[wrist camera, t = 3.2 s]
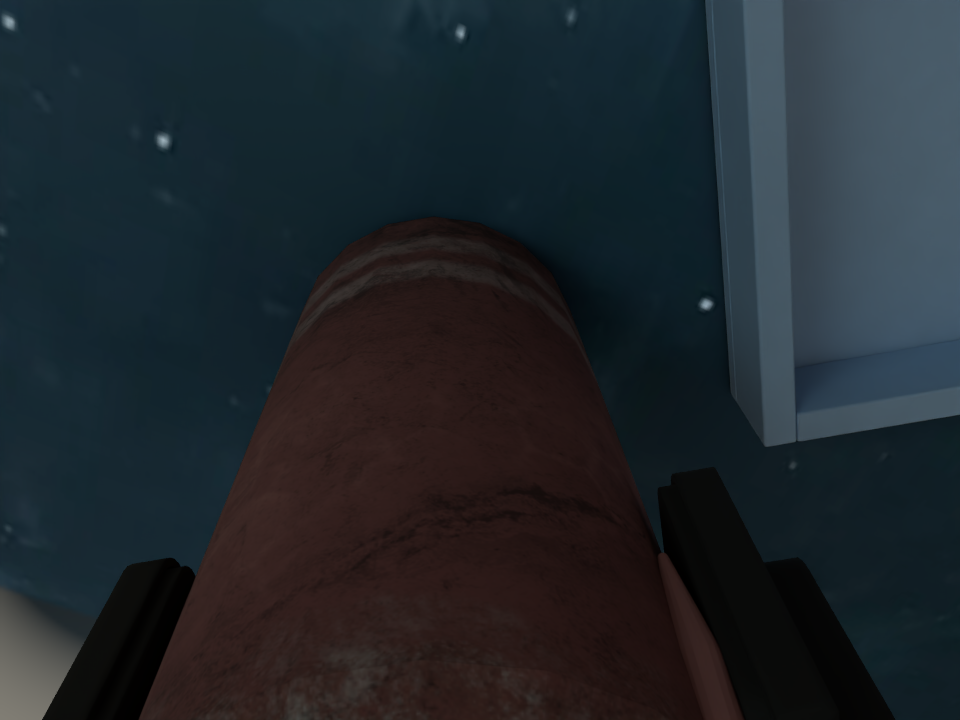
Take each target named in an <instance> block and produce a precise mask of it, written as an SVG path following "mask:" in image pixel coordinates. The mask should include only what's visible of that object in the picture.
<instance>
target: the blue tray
mask: <svg viewBox="0 0 960 720" xmlns="http://www.w3.org/2000/svg"><path fill="white" fill-rule="evenodd" d="M705 5H706V21H707V36H708V51H709V67H710V82H711V97H712V112H713V128H714V143H715V158H716V174H717V189H718V204H719V219H720V235H721V250H722V265H723V281H724V296H725V311H726V326H727V342H728V357H729V372H730V388H731V394H732V396H733V397H734V399H735V401H736V402H737V403H738V405H739V407H740V408H741V410H742V411H743V413H744V414H745V416H746V418H747V419H748V421H749V422H750V424H751V425H752V427H753V429H754V430H755V432H756V433H757V435H758V437H759V438H760V440H761V441H762V443H763V444H764V446H766V447H769V446H775V445H781V444H787V443H793V442H796V439H797V440H798V441H806V440H812V439H818V438H823V437H829V436H835V435H841V434H847V433H853V432H859V431H865V430H871V429H877V428H883V427H889V426H895V425H901V424H907V423H913V422H919V421H925V420H931V419H937V418H943V417H949V416H954V415H960V0H705Z"/></svg>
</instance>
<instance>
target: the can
mask: <svg viewBox="0 0 960 720" xmlns="http://www.w3.org/2000/svg"><path fill="white" fill-rule="evenodd" d="M139 720H745V718H744V715H743V712H742V709H741V706H740V704H739V701H738V698H737V695H736V692H735V689H734V687H733V684H732V681H731V678H730V675H729V672H728V670H727V667H726V664H725V661H724V658H723V655H722V652H721V650H720V647H719V645H718V643H717V641H716V639H715V637H714V635H713V633H712V632H711V630H710V628H709V626H708V625H707V623H706V621H705V619H704V618H703V616H702V614H701V612H700V611H699V609H698V607H697V605H696V604H695V602H694V600H693V599H692V597H691V595H690V593H689V592H688V590H687V588H686V586H685V585H684V583H683V581H682V579H681V578H680V576H679V574H678V572H677V571H676V569H675V567H674V565H673V564H672V562H671V560H670V558H669V557H668V555H667V554H666V553H661V550H660V548H659V545H658V542H657V540H656V537H655V534H654V532H653V529H652V526H651V524H650V521H649V518H648V516H647V513H646V511H645V508H644V505H643V503H642V500H641V497H640V495H639V492H638V489H637V487H636V484H635V481H634V479H633V476H632V473H631V471H630V468H629V465H628V463H627V460H626V457H625V455H624V452H623V449H622V447H621V444H620V441H619V439H618V436H617V433H616V431H615V428H614V426H613V423H612V420H611V418H610V415H609V412H608V410H607V407H606V404H605V402H604V399H603V396H602V394H601V391H600V388H599V386H598V383H597V380H596V378H595V375H594V372H593V370H592V367H591V364H590V362H589V359H588V356H587V354H586V351H585V348H584V346H583V343H582V341H581V338H580V335H579V333H578V330H577V327H576V325H575V322H574V319H573V317H572V314H571V311H570V309H569V307H568V305H567V303H566V301H565V299H564V297H563V295H562V293H561V291H560V289H559V287H558V285H557V283H556V281H555V279H554V277H553V275H552V273H551V272H550V271H549V270H548V269H547V268H546V267H545V266H544V265H543V264H542V263H541V262H540V261H539V260H538V259H537V258H536V257H534V256H533V255H532V254H531V253H530V252H529V251H528V250H527V249H526V248H525V247H524V246H523V245H522V244H521V243H520V242H518V241H516V240H514V239H512V238H510V237H507V236H505V235H503V234H501V233H499V232H497V231H495V230H493V229H491V228H489V227H487V226H485V225H483V224H481V223H476V222H469V221H461V220H454V219H447V218H440V217H428V218H423V219H417V220H411V221H405V222H399V223H393V224H388V225H386V226H384V227H382V228H380V229H378V230H376V231H374V232H372V233H371V234H369V235H367V236H365V237H363V238H361V239H359V240H357V241H355V242H353V243H351V244H349V245H348V246H347V247H346V248H345V249H344V250H343V251H342V252H341V253H340V254H339V255H338V256H337V257H336V258H335V259H334V260H333V261H332V263H331V264H330V265H329V266H328V267H327V268H326V269H325V270H324V271H323V272H322V273H321V274H320V275H319V276H318V278H317V280H316V282H315V284H314V287H313V289H312V291H311V293H310V296H309V298H308V300H307V302H306V304H305V307H304V309H303V311H302V313H301V316H300V318H299V321H298V323H297V326H296V328H295V331H294V333H293V336H292V338H291V341H290V343H289V346H288V348H287V351H286V353H285V356H284V358H283V361H282V363H281V366H280V368H279V371H278V373H277V376H276V378H275V381H274V383H273V386H272V388H271V391H270V393H269V396H268V398H267V401H266V403H265V406H264V408H263V410H262V413H261V415H260V418H259V420H258V423H257V425H256V428H255V430H254V433H253V435H252V438H251V440H250V443H249V445H248V448H247V450H246V453H245V455H244V458H243V460H242V463H241V465H240V468H239V470H238V473H237V475H236V478H235V480H234V483H233V485H232V488H231V490H230V493H229V495H228V498H227V500H226V503H225V505H224V508H223V510H222V513H221V515H220V518H219V520H218V523H217V525H216V528H215V530H214V533H213V535H212V538H211V540H210V543H209V545H208V548H207V550H206V553H205V555H204V558H203V560H202V563H201V565H200V568H199V570H198V573H197V575H196V578H195V580H194V583H193V585H192V588H191V590H190V593H189V595H188V598H187V600H186V603H185V605H184V607H183V610H182V612H181V615H180V617H179V620H178V622H177V625H176V627H175V630H174V632H173V635H172V637H171V640H170V642H169V645H168V647H167V650H166V652H165V655H164V657H163V660H162V662H161V665H160V667H159V670H158V672H157V675H156V677H155V680H154V682H153V685H152V687H151V690H150V692H149V695H148V697H147V700H146V702H145V705H144V707H143V710H142V712H141V715H140V717H139Z"/></svg>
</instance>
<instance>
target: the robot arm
mask: <svg viewBox="0 0 960 720" xmlns="http://www.w3.org/2000/svg"><path fill="white" fill-rule="evenodd" d="M658 501H659V510H660V519H661V528H662V537H663V545H664V553H666V554H667V555H668V557H669V558H670V560H671V562H672V564H673V565H674V567H675V569H676V571H677V572H678V574H679V576H680V578H681V579H682V581H683V583H684V585H685V586H686V588H687V590H688V592H689V593H690V595H691V597H692V599H693V600H694V602H695V604H696V605H697V607H698V609H699V611H700V612H701V614H702V616H703V618H704V619H705V621H706V623H707V625H708V626H709V628H710V630H711V632H712V633H713V635H714V637H715V639H716V641H717V643H718V645H719V647H720V650H721V652H722V655H723V658H724V661H725V664H726V667H727V670H728V672H729V675H730V678H731V681H732V684H733V687H734V689H735V692H736V695H737V698H738V701H739V704H740V706H741V709H742V712H743V715H744V718H745V720H895V718H894V716H893V715H892V713H891V711H890V709H889V708H888V706H887V704H886V703H885V701H884V699H883V697H882V696H881V694H880V692H879V690H878V689H877V687H876V685H875V683H874V682H873V680H872V678H871V676H870V675H869V673H868V671H867V670H866V668H865V666H864V664H863V663H862V661H861V659H860V657H859V656H858V654H857V652H856V650H855V649H854V647H853V645H852V644H851V642H850V640H849V638H848V637H847V635H846V633H845V631H844V630H843V628H842V626H841V624H840V623H839V621H838V619H837V618H836V616H835V614H834V612H833V611H832V609H831V607H830V605H829V604H828V602H827V600H826V598H825V597H824V595H823V593H822V592H821V590H820V588H819V586H818V585H817V583H816V581H815V579H814V578H813V576H812V574H811V572H810V571H809V569H808V568H807V566H806V565H805V563H804V562H803V561H802V560H801V559H799V558H798V557H797V558H791V559H785V560H778V561H772V562H766V563H764V562H763V560H762V558H761V556H760V554H759V552H758V551H757V549H756V547H755V545H754V543H753V541H752V539H751V537H750V535H749V533H748V531H747V529H746V527H745V525H744V523H743V521H742V519H741V517H740V515H739V513H738V511H737V509H736V507H735V505H734V503H733V501H732V499H731V497H730V495H729V493H728V491H727V490H726V488H725V486H724V484H723V482H722V480H721V478H720V476H719V474H718V472H717V470H716V469H715V468H714V467H710V468H704V469H698V470H692V471H686V472H680V473H674V474H672V476H671V485H670V486H664V487H658ZM195 578H196V577H195V574H194V572H193V571H192V569H191V568H190V567H188V566H183V567H180V565H179V563H178V562H177V561H176V560H175V559H173V558H165V559H159V560H153V561H147V562H141V563H135V564H131V565H129V566H127V567H126V569H125V570H124V571H123V573H122V575H121V577H120V579H119V580H118V582H117V584H116V586H115V588H114V589H113V591H112V593H111V595H110V597H109V599H108V600H107V602H106V604H105V606H104V608H103V610H102V611H101V613H100V615H99V617H98V619H97V621H96V622H95V624H94V626H93V628H92V630H91V631H90V634H89V635H88V637H87V639H86V641H85V642H84V644H83V646H82V648H81V650H80V652H79V653H78V655H77V657H76V659H75V661H74V662H73V664H72V666H71V668H70V670H69V672H68V673H67V676H66V677H65V679H64V681H63V683H62V684H61V686H60V688H59V690H58V692H57V694H56V695H55V697H54V699H53V701H52V703H51V704H50V706H49V708H48V710H47V712H46V714H45V716H44V717H43V719H42V720H139V717H140V715H141V712H142V710H143V707H144V705H145V702H146V700H147V697H148V695H149V692H150V690H151V687H152V685H153V682H154V680H155V677H156V675H157V672H158V670H159V667H160V665H161V662H162V660H163V657H164V655H165V652H166V650H167V647H168V645H169V642H170V640H171V637H172V635H173V632H174V630H175V627H176V625H177V622H178V620H179V617H180V615H181V612H182V610H183V607H184V605H185V603H186V600H187V598H188V595H189V593H190V590H191V588H192V585H193V583H194V580H195Z"/></svg>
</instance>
